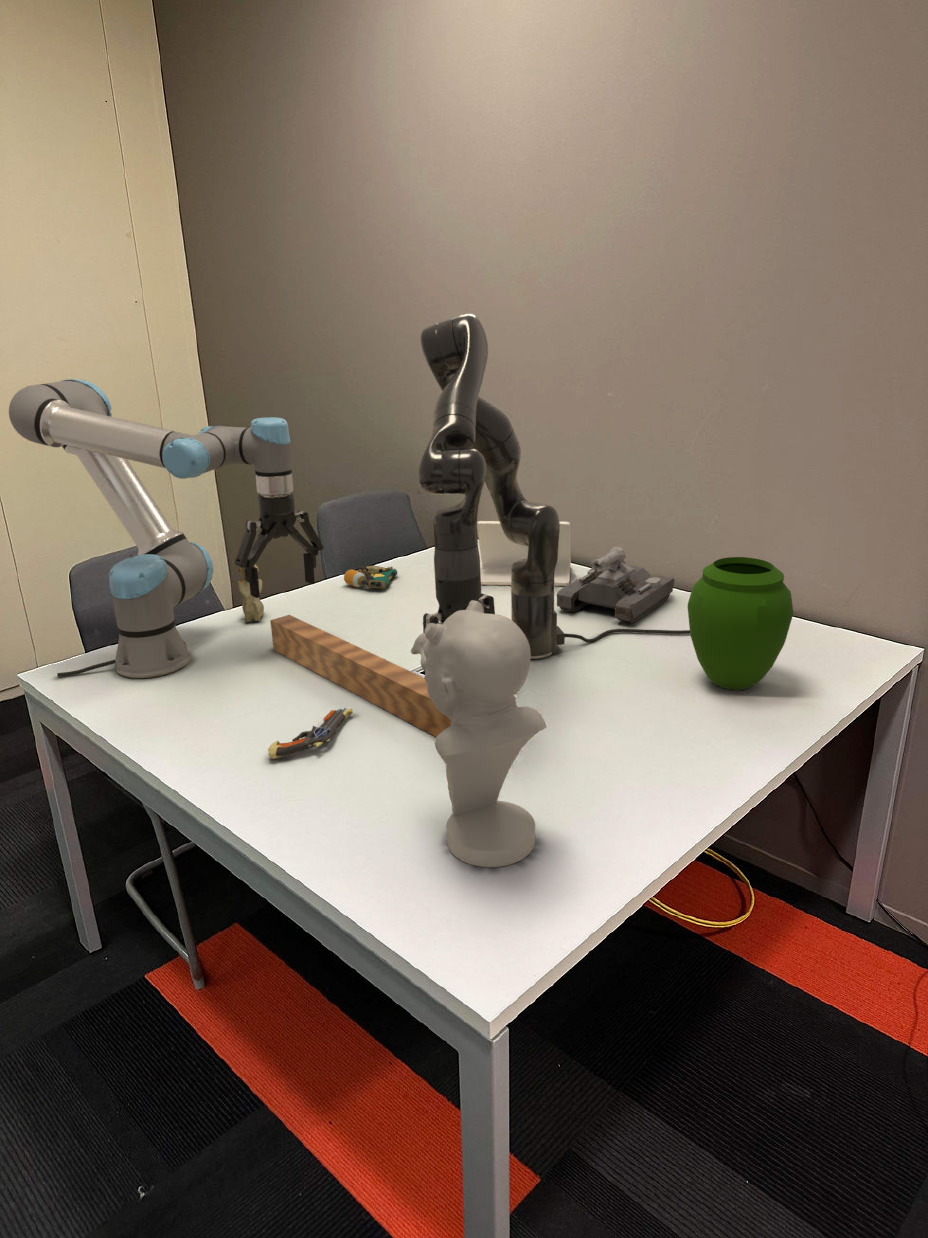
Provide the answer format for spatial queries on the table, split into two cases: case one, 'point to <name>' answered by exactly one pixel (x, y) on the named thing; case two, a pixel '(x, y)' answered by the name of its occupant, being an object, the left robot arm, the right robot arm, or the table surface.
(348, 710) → the toy gun
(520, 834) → the bust sculpture
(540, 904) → the table surface
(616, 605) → the toy
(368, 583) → the spray gun
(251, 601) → the sculpture
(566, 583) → the tablet stand
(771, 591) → the vase
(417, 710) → the beam
